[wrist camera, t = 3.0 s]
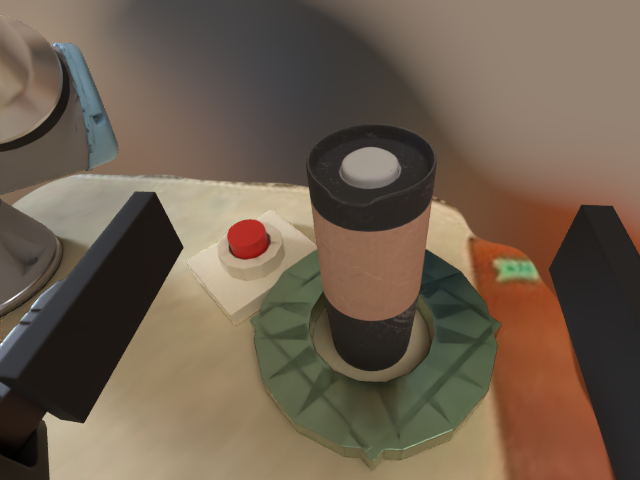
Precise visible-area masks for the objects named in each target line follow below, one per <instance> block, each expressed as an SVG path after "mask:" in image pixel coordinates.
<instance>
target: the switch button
mask: <svg viewBox="0 0 640 480" xmlns="http://www.w3.org/2000/svg"><path fill="white" fill-rule="evenodd" d="M227 239H228V242H229V244H230V247H231V249H232V252H233V254H234V255H235V256H236V257H238V258H240V259H244V260H248V259H253V258H257V257H258V256H260V255H262V254H263V253H264V252H265V251H266V250H267V248H268V245H269V241H268V237H267V233H266V230H265V227H264V225H263V224H262V223H261V222H260V221H257V220H252V219H249V220H243V221H240V222H238V223H236V224H234V225H233V226H232V227H231V228H230V229H229V231H228V233H227Z"/></svg>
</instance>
